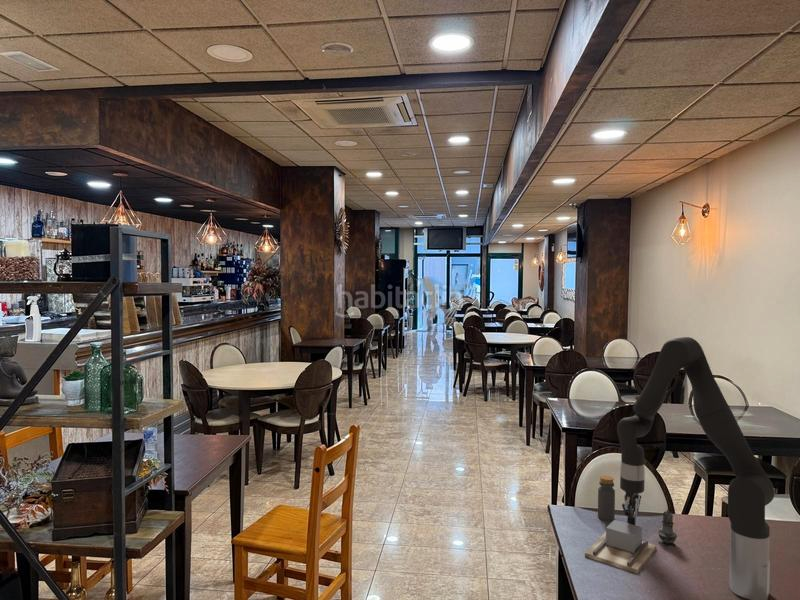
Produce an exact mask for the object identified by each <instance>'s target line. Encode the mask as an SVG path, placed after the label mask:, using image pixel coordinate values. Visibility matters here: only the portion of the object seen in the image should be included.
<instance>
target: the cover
mask: <svg viewBox="0 0 800 600" xmlns="http://www.w3.org/2000/svg"><path fill="white" fill-rule="evenodd" d="M605 532H606V545H609V546H612V547H615V548H618V549H622V550H625V551H628V552H632V553H635V552H636V551H637V550H638V548H639V547H640V546H641V545H642V542H643V527H642V526H639V525H632V524H628V523H627V522H625V521H620V520H617V519H614V520H612V522H611V521H610V523H609V524H608V525H607V526H606V527H605Z"/></svg>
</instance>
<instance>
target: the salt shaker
mask: <svg viewBox="0 0 800 600" xmlns="http://www.w3.org/2000/svg"><path fill="white" fill-rule="evenodd" d="M673 515H674V514H673V512H671V511H670V510H669V508H667V509H666V510H665V511H663V514H662V521H661V523H662V529H660V530H658V531H657V534H658V537H659V539H660V540H659V541H658V545H659V546H661V547H664V548H666V549H676V547H677V544H676V543H675V542H676V540H677V538H678V534H677V533H676V532H675V531H674V530H673V529H674V525H675V523H674V522H673V521H674V520H673V519H674V517H673Z"/></svg>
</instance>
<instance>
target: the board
mask: <svg viewBox="0 0 800 600" xmlns="http://www.w3.org/2000/svg"><path fill="white" fill-rule="evenodd" d="M656 550H657V545H655V544H652V543H649V540H647V539H645V540H644V541H642V545H641V546H640V547H639V548H638V550H637V551H636V552H635V553H632V552H628V551H625V550H622V549H618V548H615V547H612V546H609V545H606V531H605V532H604V533H603V534H602V535H601V536H600V537H599V538H598V539H597V540H596V541H595V542H594V543H593V544H592V545H591V546H590V547H588V549H587V550H586V551H585V552H584V557H585V558H589V559H592V560H595V561H597V562H601V563H605V564H608V565H610V566H613V567H615V568H619V569H621V570H625V571H628V572H631V573H635V574H638V573H639V572H640V571H641V570H642V569H643V567H644V566H645V564H646V563H647V562H648V560H649V559H650V558H651V556H652V555H653V554H654V552H655V551H656Z"/></svg>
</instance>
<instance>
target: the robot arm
mask: <svg viewBox="0 0 800 600" xmlns="http://www.w3.org/2000/svg"><path fill="white" fill-rule="evenodd" d="M681 369H683V371H684V372H685V374H686V376H687V378H688V380H689V382H690V385H691V389H692V402H693V409H694V413H695V415H696V418H697V420H698V422H699V424H700V426H701V428H702V430H703V432H704V434H705V435H706V436H707V438H708V439H709V441H711V442H712V443H713V444H714V446H715V447H716V448H717V449H719V450H720V452H721V453H722V454H723V456H725V458H726V459H727V461H728V463H729V464H730V466H731V469H732V471H733V473H734V475H735V477H734V478H733V479H732V480H731V481H729V485H728V489H727V514H728V516H727V517H728V520H729V521H730V538H729V541H730V545H729V547H730V548H729V579H728V580H729V581H728V582H729V586H728V587H729V590H730V591H731V592H732V593H733V594H735V595H736V596H739V597H740V598H741V597H742V598H743V599H747V600H768V598H769V594H770V576H771V575H770V574H771V573H770V572H771V570H770V569H771V568H770V567H771V566H770V565H771V560H770V538H771V537H770V536H771V534H770V530H771V528H770V525H769V524H768V523H767V522H766V506H768V505H769V504H770V503H772V501H773V500H774V497H775V488H774V485H773V482H772V481H771V480H770V477H769V476H768V475H767V473H766V471H765V470H764V468H763V467H762V465H761V464H760V462H759V461H758V459H757V458H756V456H755V455H754V452H753V451H752V449H751V447H750V444H749V443H748V441H747V439H746V437H745V435H744V433H743V431H742V429H741V427H740V425H739V423H738V421H737V419H736V417H735V414H734V413H733V411H732V409H731V407H730V406H729V404H728V403H727V400H726V399H725V396H724V395H723V393H722V391H721V388H720V386H719V384H718V382H717V381H716V379H715V377H714V374H713V372H712V370H711V367H710V364H709V362H708V358H707V356H706V354H705V351H704V350H703V348H702V346H701V344H700V343H699V342H698V341H697V340H696V339H694V338H693V337H688V336H685V337H684V336H683V337H675V338H672V339H669V340H667V341H666V342H665V343H664V344H663V345H662V347H661V349H660V351H659V354H658V356H657V359H656V362H655V365H654V368H653V370H652V372H651V375H650V376H649V378H648V380H647V382H646V384H645V386H644V388H643V389H642V391H641V392H640V394H639V396H638V397H637V399H636V401H635V402H634V404H633V407H632V410H633V413H635V414H634V415H633V416H629V417H623V418H621V419H620V420H619V421H618V423H617V427H616V432H617V436H618V442H619V445H620V448H621V459H620V460H621V461H620V468H619V469H620V470H619V471H620V472H619V473H620V475H619V476H620V478H619V482H620V483H619V488H620V490H622V491H623V492H625V494H624V496H623V498H624V499H623V500H624V501H623V502H624V503H623V502H622V505H621V507H622V509H623V513H624V516H626V517H627V522H626V523H628V524H632V525H636V522H637V521H636V519H637V517H636V516H637V515H638V513H639V509H640V505H641V500H642V495H641V494H642V493H644V492H645V478H646V477H645V475H646V474H645V473H646V470H645V450H644V447H643V446H642V445H640V444H638V443H637V438H642V437H645V436H646V435H647V434H648V433H650V431H651V429H652V426H653V423H654V420H655V416H656V414H657V413H658V411H659V410H660V408H661V407H662V405H664V402H665V400H666V398H667V392H668V388H669V385H670V383H671V381H672V380H673V378H674V376H675V375H676V374H677V373H678V372H679V371H680V370H681ZM636 526H637V525H636Z"/></svg>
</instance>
